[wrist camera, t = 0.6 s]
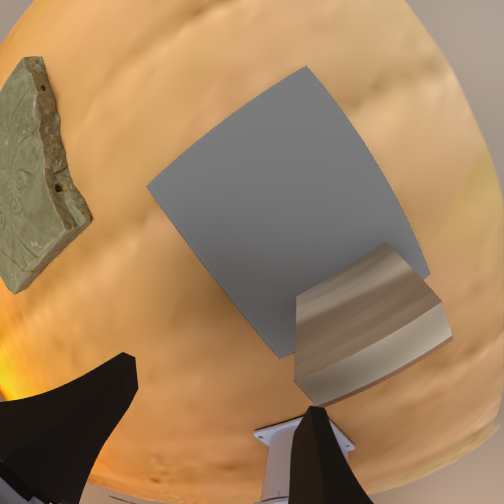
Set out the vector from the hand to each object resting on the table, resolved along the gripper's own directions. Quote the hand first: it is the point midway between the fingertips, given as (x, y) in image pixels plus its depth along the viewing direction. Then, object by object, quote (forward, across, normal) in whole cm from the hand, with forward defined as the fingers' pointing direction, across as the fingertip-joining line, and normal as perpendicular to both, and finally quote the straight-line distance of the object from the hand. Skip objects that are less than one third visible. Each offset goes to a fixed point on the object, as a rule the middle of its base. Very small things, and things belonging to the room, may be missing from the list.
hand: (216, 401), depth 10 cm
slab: (+10, -6, -2) cm, 12 cm away
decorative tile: (+11, +26, -5) cm, 28 cm away
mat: (+10, -2, -5) cm, 11 cm away
